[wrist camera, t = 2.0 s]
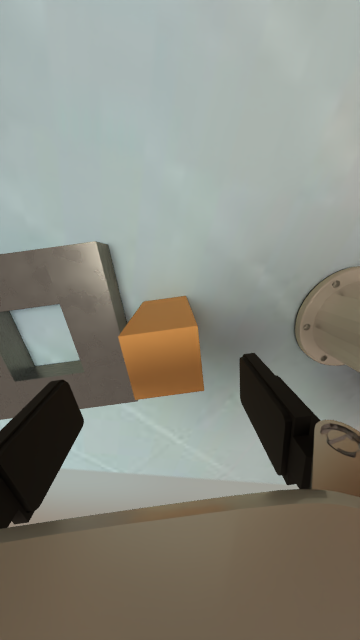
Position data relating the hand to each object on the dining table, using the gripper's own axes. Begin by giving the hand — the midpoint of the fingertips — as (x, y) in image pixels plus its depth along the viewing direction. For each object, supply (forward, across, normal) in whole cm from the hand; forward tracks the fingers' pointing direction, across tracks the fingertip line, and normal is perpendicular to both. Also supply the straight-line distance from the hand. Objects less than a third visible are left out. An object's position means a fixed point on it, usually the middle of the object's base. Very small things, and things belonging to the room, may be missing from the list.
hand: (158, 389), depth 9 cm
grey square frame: (+12, +14, 0) cm, 18 cm away
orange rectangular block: (+12, 0, 0) cm, 12 cm away
